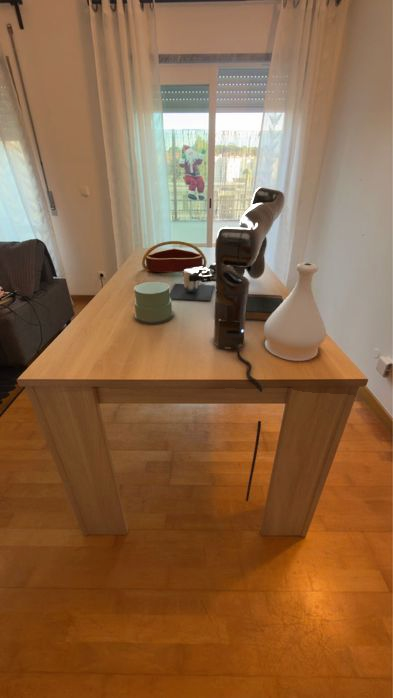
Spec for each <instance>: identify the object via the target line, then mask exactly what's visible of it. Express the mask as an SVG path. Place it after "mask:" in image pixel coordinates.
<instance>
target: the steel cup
mask: <svg viewBox="0 0 393 698" xmlns="http://www.w3.org/2000/svg"><path fill="white" fill-rule="evenodd" d="M183 274H184V276H183V284H184V290H185V291H188V292H195V291H198V290H199V285H200V281H192V282H190V281H189V276H193V275H199V270H197V269H186V270H184V271H183V272H182V275H183Z"/></svg>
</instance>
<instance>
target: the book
mask: <svg viewBox="0 0 393 698" xmlns="http://www.w3.org/2000/svg"><path fill="white" fill-rule="evenodd" d="M283 301H284V298H283V295H279V294H278V295H277V294H256V293H248V301H247V311H246V321H259V322H266V321H267V319H268V318H269V317H270V316H271V314H272V313H273V312H274V311H275V310H276V309H277V308H278V307H279V306H280V304H281V303H282V302H283Z"/></svg>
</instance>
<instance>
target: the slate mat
mask: <svg viewBox="0 0 393 698" xmlns="http://www.w3.org/2000/svg"><path fill="white" fill-rule="evenodd" d="M214 287H215V285H214V284H212V285H211V284H199V290H198V291H195V292H188V291H185V290H184V283H175V284H174V285H173V287H172V289H171V290H170V291H169V296H170V298H171V301H188V302H189V301H190V302H204V303H205V302H207V303H209V302H211V299H212V295H213V291H214Z"/></svg>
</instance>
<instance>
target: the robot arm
mask: <svg viewBox="0 0 393 698" xmlns="http://www.w3.org/2000/svg"><path fill="white" fill-rule="evenodd" d="M284 205H285V194H284V192H282V191H280V190H277V189H271V188H267V187H258V188H257V189H255V192H254V194H253V197H252V200H251V206H250V207H249V208H248V209H247V210H246V211H245V212H244V214H243V215H242V217H241V219H240V221H239V222H240V223H239V227H228V226H225V227H221V228H220V229H219V230H218V232H217V234H216V237H215V246H214V251H215V252H214V254H215V255H214V256H215V257H214V259H215V260H214V261H215V263H210V265H209V267H208V268H207V267H205V268H203V267H202V266H201V267H195V268H191V269H197V270H199V275H193V276H189V281H190V282H192V281H199V282H201V283H209V282H215V298H214V299H215V300H214V322H213V323H214V325H213V344H214V345H215V346H216V347H217V349H219V350H232V351H236V356H237V358H238V359H239V360H240V361H241V363H244V364H246V365H247V367H248V368H247V369H246V376H247V378H248V379H249V380H250V381H252V382H253V383H255V385H256V386H257V389H258V391H259V392H263V388H262V384H261V383H260V382H259V380H257V379H256V378H255V377H253V376H251V374H250V371H251V369H252V364H251V363H250V362H249V361H248V360H246V359H244V358H243V357H242V356H241V352H240V348H241V347H242V346H244V343H245V329H246V321H247V320H246V311H247V301H248V294H249V292H250V291H249V290H250V280H249V279H248V278H247V277H246V276H245V272H247V274H248V277H250V278H252V279H253V280H257V279H259V278H261V277H262V276H263V275H264V274H265V273H264V272H265V268H266V261H265V260H266V258H265V254H266V251H267V246H268V238H267V235H268V234H269V232H270V231H271V228H272V227H273V224H274V223H275V222H276V220H277V219H278V218H279V216H280V215H281V213H282V211H283V208H284ZM182 277H184V274H183V273H182ZM261 427H262V421H261V420H258V421H257V427H256V428H257V429H256V437H255V445H254V451H253V455H252V462H251V468H250V473H249V479H248V484H247V488H246V489H247V490H246V497H245V501H246V502H249V499H250V491H251V486H252V480H253V477H254V476H253V475H254V471H255V466H256V460H257V456H258V455H257V453H258V449H259V444H260V443H259V442H260V435H261Z"/></svg>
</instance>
